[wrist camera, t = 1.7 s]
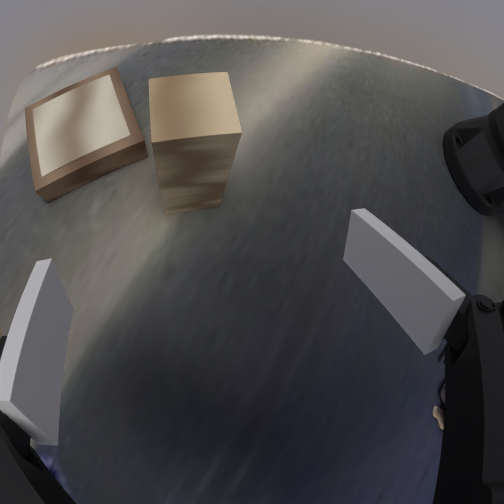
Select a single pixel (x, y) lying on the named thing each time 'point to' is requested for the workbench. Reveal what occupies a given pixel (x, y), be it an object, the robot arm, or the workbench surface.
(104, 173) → the plinth
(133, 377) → the workbench surface
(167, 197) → the oak block
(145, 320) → the workbench surface
